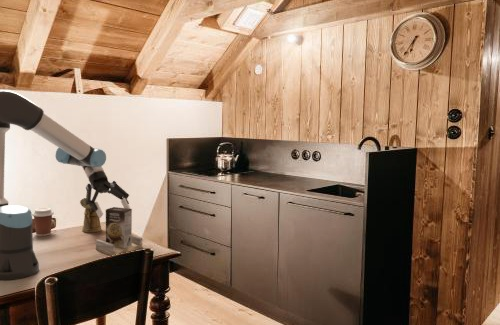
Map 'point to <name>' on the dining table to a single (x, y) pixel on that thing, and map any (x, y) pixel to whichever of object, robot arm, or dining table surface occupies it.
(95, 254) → the dining table surface
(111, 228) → the coffee box
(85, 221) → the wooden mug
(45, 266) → the dining table surface
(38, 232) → the coffee cup
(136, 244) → the shallow rail tray
